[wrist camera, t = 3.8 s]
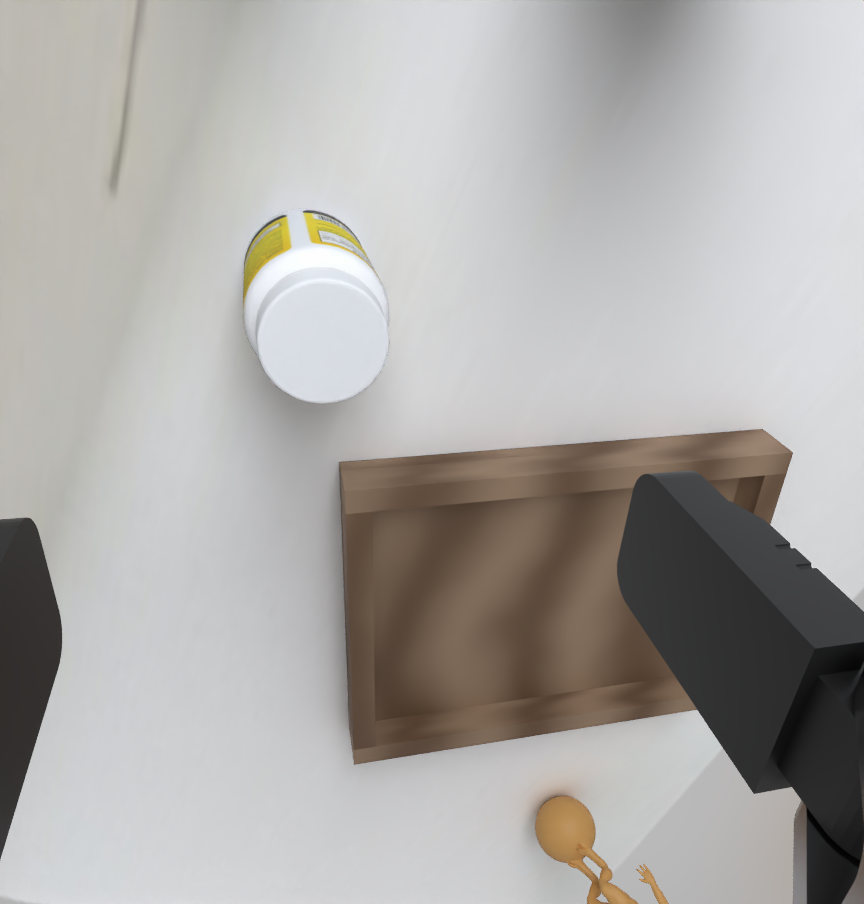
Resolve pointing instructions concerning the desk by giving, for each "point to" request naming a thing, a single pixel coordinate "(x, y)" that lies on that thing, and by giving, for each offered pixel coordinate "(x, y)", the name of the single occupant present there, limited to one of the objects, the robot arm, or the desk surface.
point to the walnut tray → (512, 587)
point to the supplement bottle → (314, 307)
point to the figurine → (581, 847)
